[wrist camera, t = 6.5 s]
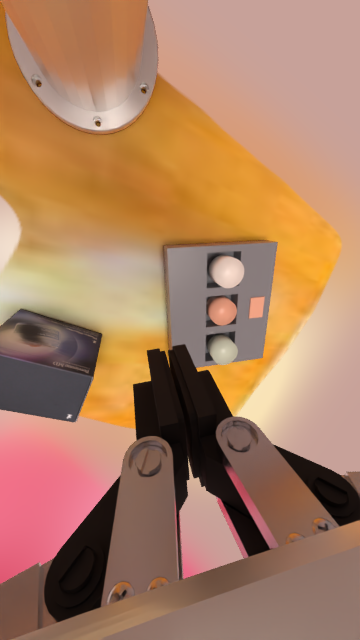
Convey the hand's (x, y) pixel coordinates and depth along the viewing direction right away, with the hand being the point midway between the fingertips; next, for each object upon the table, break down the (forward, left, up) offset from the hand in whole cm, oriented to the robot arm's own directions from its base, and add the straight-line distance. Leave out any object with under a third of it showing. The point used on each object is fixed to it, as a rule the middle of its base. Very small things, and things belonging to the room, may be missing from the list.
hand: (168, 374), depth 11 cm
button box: (+6, +10, -23) cm, 25 cm away
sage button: (+11, +10, -20) cm, 25 cm away
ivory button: (0, +10, -20) cm, 23 cm away
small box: (+9, -12, -23) cm, 27 cm away
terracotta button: (+6, +10, -21) cm, 24 cm away
